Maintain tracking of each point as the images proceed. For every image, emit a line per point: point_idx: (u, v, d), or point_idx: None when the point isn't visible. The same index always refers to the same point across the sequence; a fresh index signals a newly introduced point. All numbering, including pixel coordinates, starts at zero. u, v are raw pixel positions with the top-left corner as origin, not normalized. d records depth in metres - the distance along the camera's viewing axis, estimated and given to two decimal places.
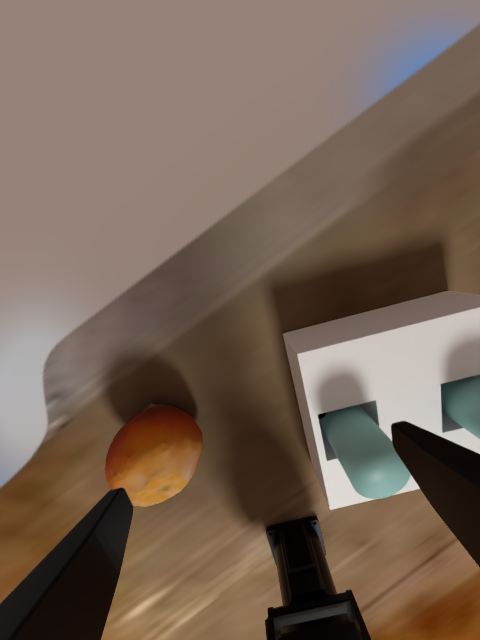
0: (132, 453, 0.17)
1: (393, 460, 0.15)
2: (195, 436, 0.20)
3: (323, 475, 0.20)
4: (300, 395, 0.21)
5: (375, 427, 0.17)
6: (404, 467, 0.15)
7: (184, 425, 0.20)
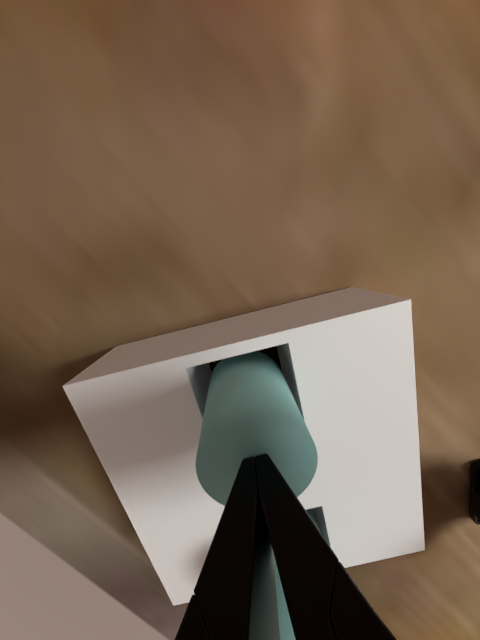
0: None
1: None
2: None
3: (359, 562, 0.14)
4: None
5: None
6: None
7: None
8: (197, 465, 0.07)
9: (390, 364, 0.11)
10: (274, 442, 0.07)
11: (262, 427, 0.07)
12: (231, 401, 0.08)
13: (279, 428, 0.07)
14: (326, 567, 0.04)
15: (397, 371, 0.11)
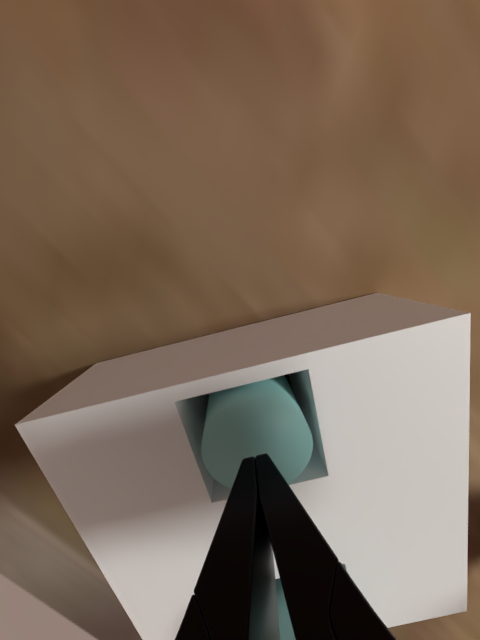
0: None
1: None
2: None
3: (387, 625, 0.12)
4: None
5: None
6: None
7: None
8: (202, 449, 0.08)
9: (438, 395, 0.08)
10: (273, 428, 0.08)
11: (262, 414, 0.08)
12: (233, 391, 0.08)
13: (277, 415, 0.08)
14: (326, 567, 0.04)
15: (447, 403, 0.08)
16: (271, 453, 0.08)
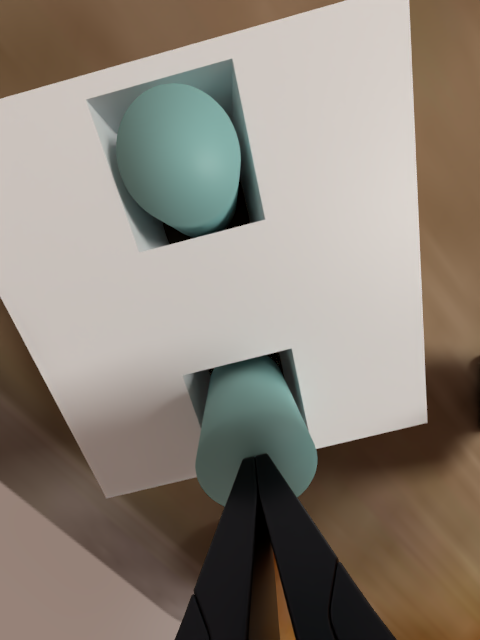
0: None
1: (220, 451, 0.07)
2: None
3: (343, 440, 0.11)
4: None
5: (206, 406, 0.09)
6: (239, 428, 0.07)
7: None
8: (118, 155, 0.07)
9: (379, 106, 0.08)
10: (194, 127, 0.07)
11: (181, 105, 0.07)
12: None
13: (198, 107, 0.07)
14: (326, 567, 0.04)
15: (389, 119, 0.08)
16: (195, 165, 0.07)
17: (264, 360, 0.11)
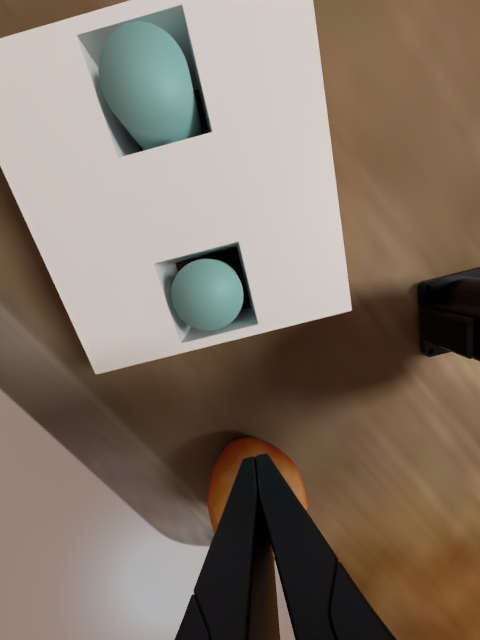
0: None
1: (185, 285, 0.12)
2: (233, 458, 0.18)
3: (285, 325, 0.14)
4: None
5: None
6: (195, 269, 0.12)
7: (218, 467, 0.18)
8: (100, 76, 0.10)
9: (293, 42, 0.10)
10: (155, 55, 0.10)
11: (144, 38, 0.10)
12: None
13: (157, 39, 0.10)
14: (326, 567, 0.04)
15: (301, 52, 0.10)
16: (157, 84, 0.10)
17: None
